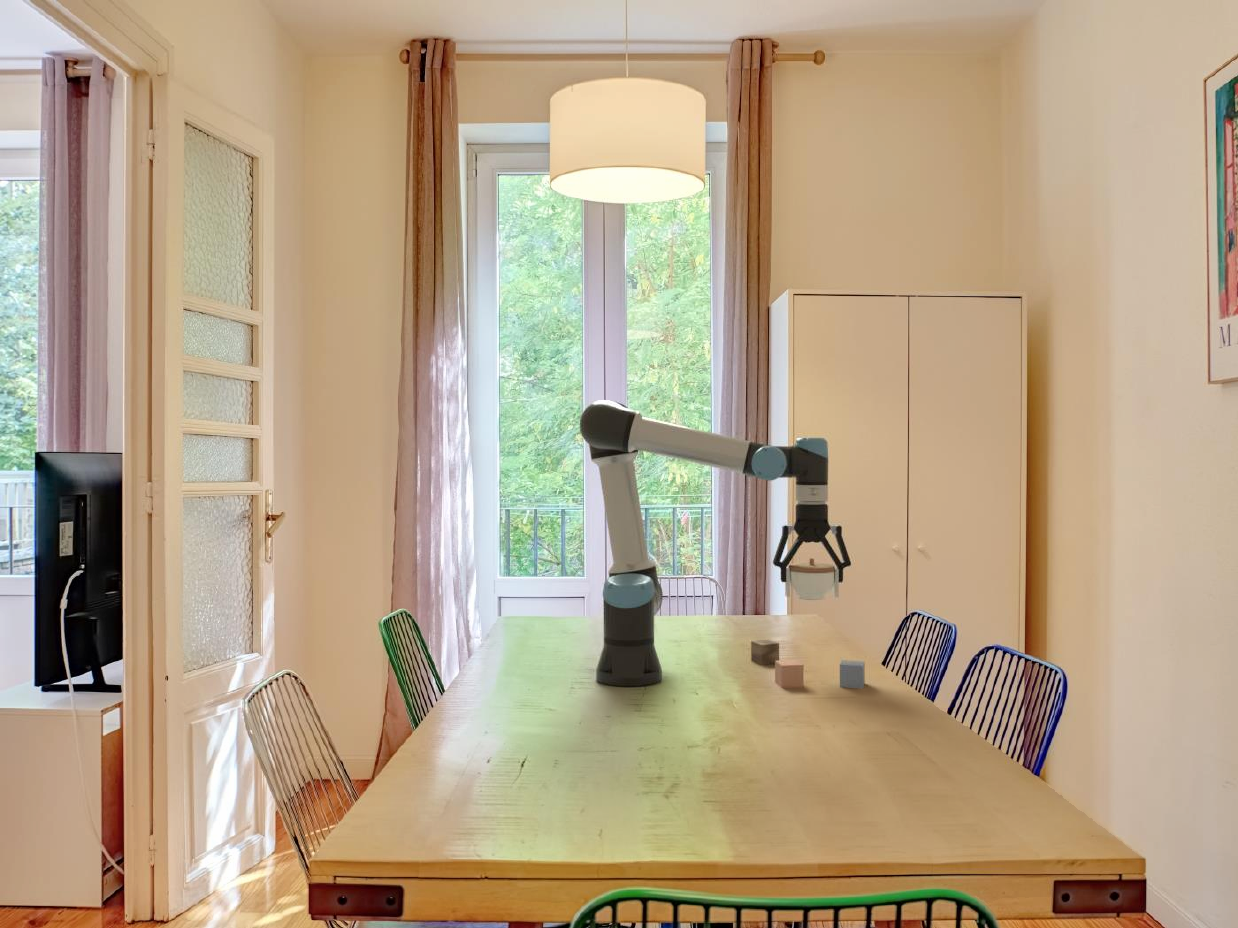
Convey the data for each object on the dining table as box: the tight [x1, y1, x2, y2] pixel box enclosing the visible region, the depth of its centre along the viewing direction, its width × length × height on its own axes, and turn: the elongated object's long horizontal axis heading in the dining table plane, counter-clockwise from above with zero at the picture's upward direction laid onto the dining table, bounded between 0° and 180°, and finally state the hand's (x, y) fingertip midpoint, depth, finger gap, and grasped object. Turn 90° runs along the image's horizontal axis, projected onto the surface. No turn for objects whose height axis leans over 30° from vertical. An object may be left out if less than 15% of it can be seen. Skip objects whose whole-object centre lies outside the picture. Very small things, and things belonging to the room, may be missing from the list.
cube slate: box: [839, 659, 866, 689], centre depth 220 cm, size 5×5×5 cm
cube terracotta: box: [774, 659, 804, 689], centre depth 220 cm, size 5×5×5 cm
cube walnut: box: [750, 639, 780, 666], centre depth 243 cm, size 5×5×5 cm
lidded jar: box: [788, 557, 836, 601], centre depth 232 cm, size 11×11×9 cm
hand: (811, 596), depth 233 cm, fingers closed on lidded jar, 11 cm apart
